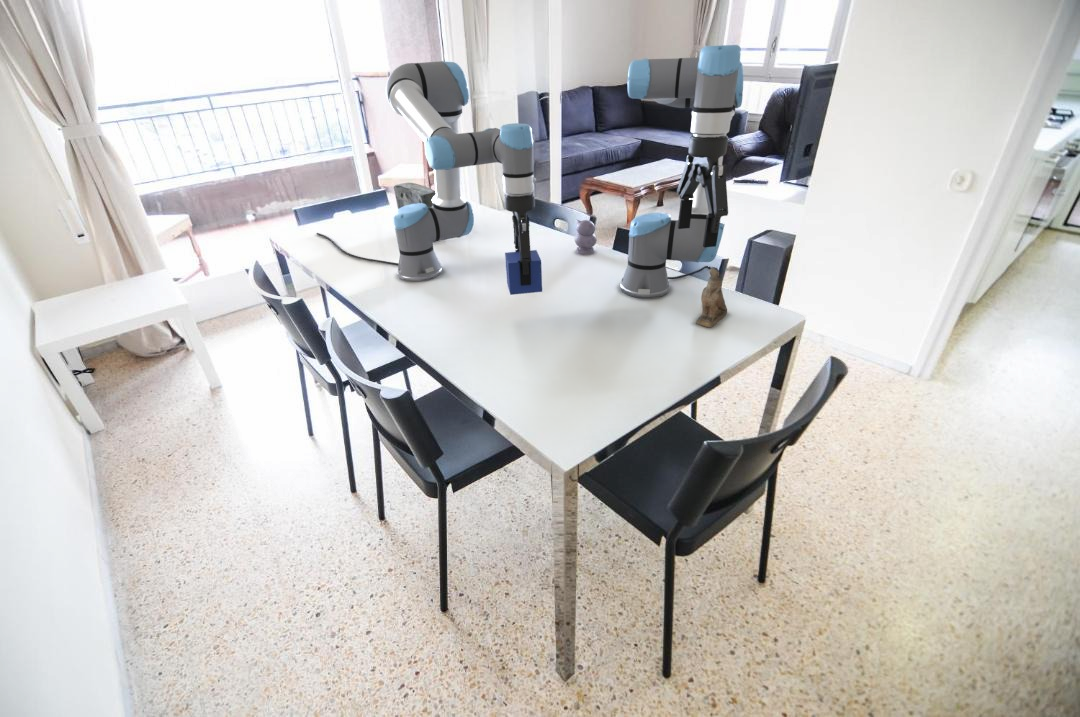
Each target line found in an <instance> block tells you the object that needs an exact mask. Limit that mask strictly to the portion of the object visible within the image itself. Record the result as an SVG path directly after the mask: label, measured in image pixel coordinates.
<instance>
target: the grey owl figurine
mask: <svg viewBox="0 0 1080 717" xmlns="http://www.w3.org/2000/svg"><path fill="white" fill-rule="evenodd" d="M575 220H576V232H577V233H576V234H575V236H574V242H575V245H576V246H577V247H576V253H577V254H579V255H583V256H584V255H585V256H587V255H591V254H593V253H594V252H595V251H594V246H595V245H596V244H597V240H598V239H597V236H596V235H595V232H596V225H595V223H593V221H591V220H588V219H583V220H580V219H575Z"/></svg>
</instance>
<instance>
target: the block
mask: <svg viewBox="0 0 1080 717" xmlns="http://www.w3.org/2000/svg"><path fill="white" fill-rule="evenodd" d="M530 252H531V262H530V270H531V285H524V286H521V281H520V263H518V262H517V261H520V253H519V252H515V251H509V252H504V259H505V272H506V284H507V288H508V292H509V295H510V296H511V295H523V294H533V293H542V292H543V275H542V274H543V273H542V258H541V256H540V254H539V252H538V250H537V249H533V250H532V249H530ZM527 258H528V257H527Z"/></svg>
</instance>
